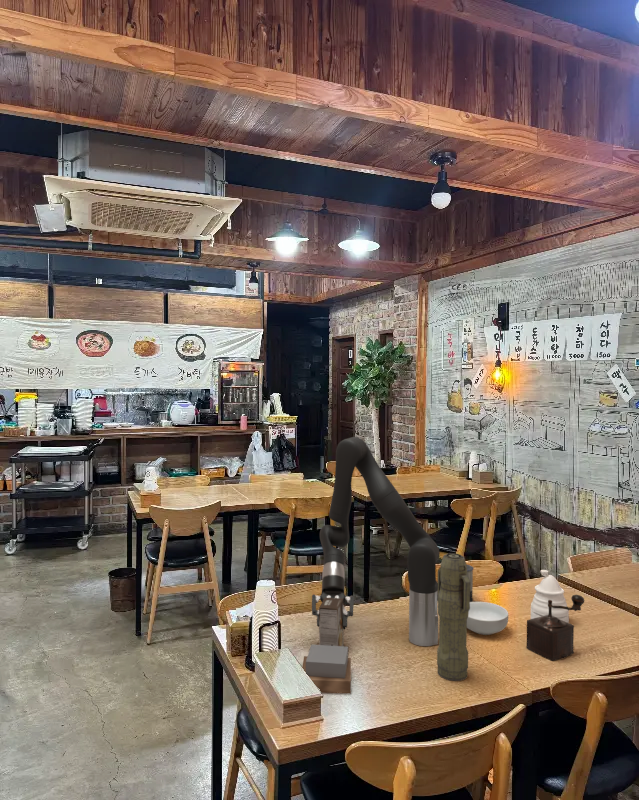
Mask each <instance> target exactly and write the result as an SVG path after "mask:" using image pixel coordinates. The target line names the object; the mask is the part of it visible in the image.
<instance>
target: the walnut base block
mask: <svg viewBox="0 0 639 800" xmlns="http://www.w3.org/2000/svg"><path fill="white" fill-rule="evenodd" d="M307 656H308V655H307ZM307 656H306V655H305V656H303V659H302V660H303V661H302V664H301V665H302V666H301V669H302V668H303V669H304V671H305V672H306V659H307ZM309 677H310V678H311V680H312V681H313V682H314V684H315V685H316V686H317V687H318V688H319V689H320V691H321V692H322V693H323V694H349V695H351V694H352V693H351V692H352V690H351V689H352V679H351V678H352V657H348V663H347V669H346V675H345V678H331V677H316V676H309Z"/></svg>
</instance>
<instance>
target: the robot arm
mask: <svg viewBox="0 0 639 800" xmlns="http://www.w3.org/2000/svg"><path fill="white" fill-rule="evenodd" d="M335 450H336V451H335V469H334V470H335V471H334V485H333V491H332V495H331V502H330V506H329V512H328V516H329V517H328V518H329V519H331V521H334V522H337V524H340V526H339V525H332V524H325V525H323V526H322V527H321V528H320V531H319V540H320V544H321V548H322V551H323V568H322V577H321V578H322V581H321V594H320V595H316V594H312V595H311V615H312V616H315V617H316V626H317V627H318V628H319V609H318V610H317V604H318V603H319V601H320V602H321V603H322V602H323V600H324V598H342V599H343V630H346V628H348V618H349V617H353V616H354V603H355V602H354V601H355V600H354V599H355V596H354V595H350V596H346V594H345V580H346V575H345V574H346V573H345V553H344V551H343V550H341V549H339V548H345V547H346V546H348V544H349V542H350V530H349V519H350V511H351V506H352V503H353V502H352V500H353V492H352V490H353V489H352V479H353V474H354V471H355V468H356V470H357V471H358V473H359V474H360V476H362V479H363V480H364V482H365V486H366V489H367V493H368V497H369V498H370V500H371V502H372V505H374V507H375V508H376V510H377V512H378V513H379V514H380V516H381V517H382V518H383V519H384V520H385V521H386V522H387V523H389V525H391V526H392V527H393V528H394V529H396V531H398V532H399V533H400V534H401V536H402V537H403V539H404V540H405V542H406V543H407V545H408V546H409V550H408V554H407V580H408V585H409V587H408V589H409V590H408V591H409V593H408V595H409V597H408V598H409V599H408V600H409V601H408V602H409V603H408V604H409V605H408V607H409V608H408V609H409V610H408V618H409V619H408V640H409V641H408V642H410V643H411V644H413V645H416V646H420V647H431V646H432V647H433V646H434V645H438V646H439V615H438V601H437V588H438V580H437V578H436V577H437V575H436V574H437V572H436V571H437V569H436V566H437V565H436V564H437V563H438V561H439V559H440V549H439V546H438V544H437V543H436V542H435V541H434V539H433V538H432V537H431V535H429V534H428V532H427V531H426V530H425V529H424V528H423V527H422V525H421V524H420V523H419V522H418V520H417V519H416V517H415V515H414V514H413V512H412V511H411V510H410V508H409V506H408V505H407V504H406V502H405V500H404V499H403V497H402V496H401V495H400V493H399V491H398V490H397V489H396V487H395V486H394V485H393V483H392V482H391V481H390V480H389V478H388V476H387V475H386V474H385V472H384V471H383V470H382V468H381V467H380V466H379V464H378V462H377V461H376V459H375V457H374V455H373V453H372V451H371V449H370V448H369V446H368V444H367V443H366V442H365V440H363V439H362V438H361V437H357V436H353V437H348V438H344V439H343V440H341V441H339V443H338V444H337V445H336V449H335ZM338 547H339V548H338ZM345 602H347V604H348V605H349V610H348V611H347V610H346V608H345V605H344V603H345Z"/></svg>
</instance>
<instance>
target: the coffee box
mask: <svg viewBox="0 0 639 800" xmlns="http://www.w3.org/2000/svg"><path fill="white" fill-rule="evenodd" d="M343 605H344V603H343V599H342V598H324V600H323V602H321V603H320V605H319V607H318V610H319V627H318V629H319V630H318V634H319V637H318V639H319V640H318V641H319V644H318V645H328V646H344V629H343Z"/></svg>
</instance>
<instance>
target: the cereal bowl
mask: <svg viewBox="0 0 639 800" xmlns="http://www.w3.org/2000/svg"><path fill="white" fill-rule="evenodd" d="M508 622H509V612H508V610H507V609H506V608H504V607H503V606H501V605H498V604H496V603H493V602H492V603H491V602H487V601H473V602H470V610H469V612H468V618H467V629H468V630H469V631H472V632H474V633H475V634H479V635H482V636H483V635H484V636H488V635H489V636H490V635H493V634H496V633H499V632H502V631H503V630H504V629H505V628H506V627H507V626H508Z"/></svg>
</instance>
